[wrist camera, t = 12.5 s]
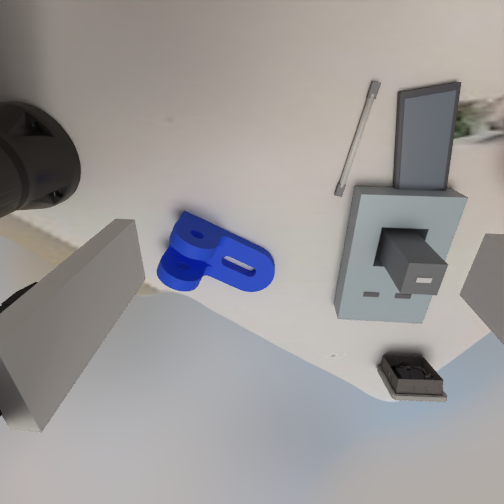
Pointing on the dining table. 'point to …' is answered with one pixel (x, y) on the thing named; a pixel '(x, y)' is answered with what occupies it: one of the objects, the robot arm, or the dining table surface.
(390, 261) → the plug
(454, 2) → the dining table surface
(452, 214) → the plate
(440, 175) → the phone
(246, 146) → the dining table surface
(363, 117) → the usb cable
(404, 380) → the electrical switch
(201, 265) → the bracket
